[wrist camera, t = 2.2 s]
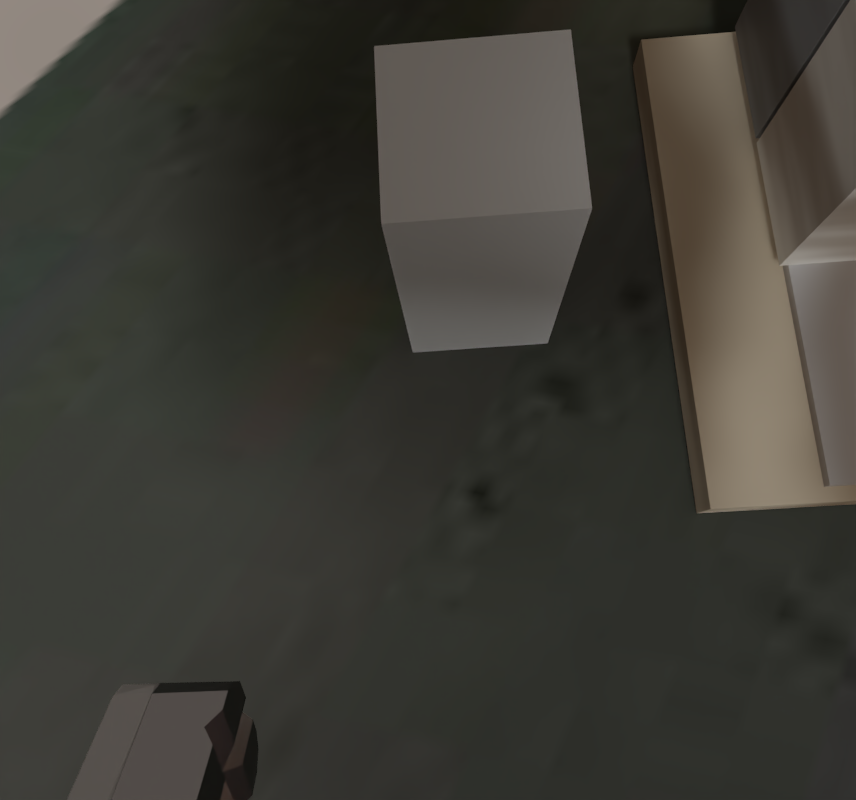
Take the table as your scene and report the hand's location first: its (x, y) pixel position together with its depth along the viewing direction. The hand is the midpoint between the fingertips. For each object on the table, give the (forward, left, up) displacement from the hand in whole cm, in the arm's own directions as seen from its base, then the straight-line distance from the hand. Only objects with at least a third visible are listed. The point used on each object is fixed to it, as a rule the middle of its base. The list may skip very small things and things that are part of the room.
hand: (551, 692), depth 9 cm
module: (0, +12, -15) cm, 20 cm away
